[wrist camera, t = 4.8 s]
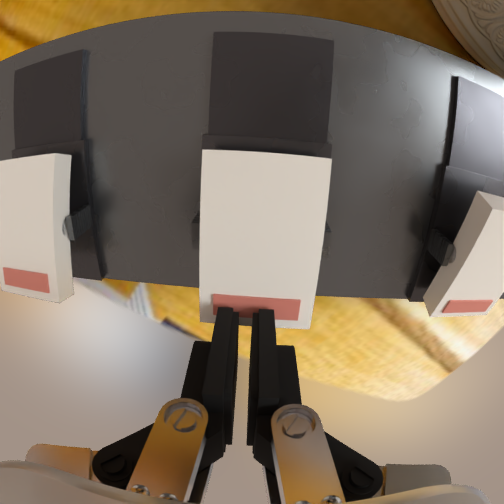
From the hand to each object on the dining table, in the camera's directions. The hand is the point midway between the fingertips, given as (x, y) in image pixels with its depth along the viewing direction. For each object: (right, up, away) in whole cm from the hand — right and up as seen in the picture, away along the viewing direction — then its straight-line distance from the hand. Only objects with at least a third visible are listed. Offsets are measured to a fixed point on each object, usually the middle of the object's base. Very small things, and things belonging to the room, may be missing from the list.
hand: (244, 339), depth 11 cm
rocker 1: (-9, +4, 0) cm, 10 cm away
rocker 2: (+1, +4, 0) cm, 4 cm away
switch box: (+4, +9, +5) cm, 11 cm away
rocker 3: (+11, +3, 0) cm, 11 cm away
